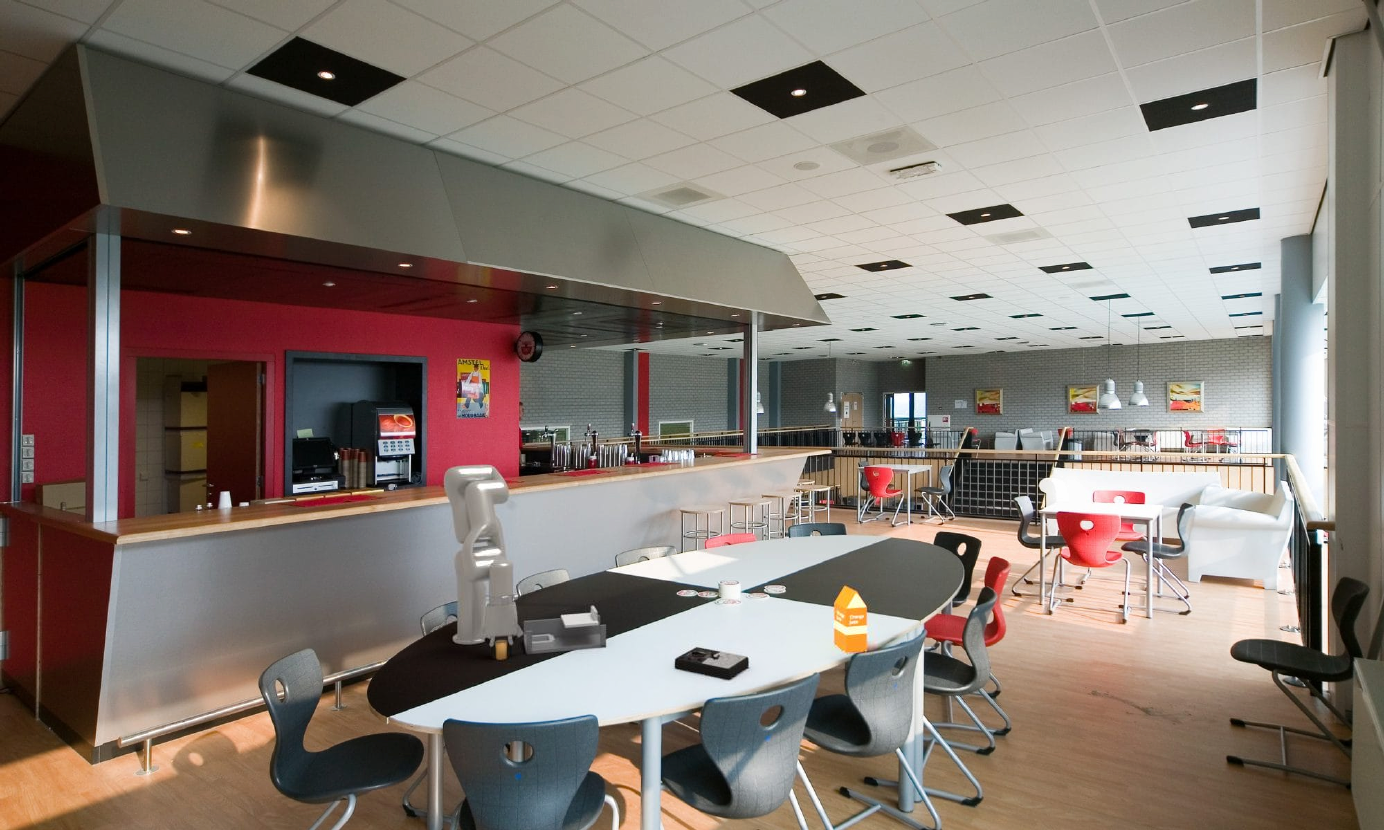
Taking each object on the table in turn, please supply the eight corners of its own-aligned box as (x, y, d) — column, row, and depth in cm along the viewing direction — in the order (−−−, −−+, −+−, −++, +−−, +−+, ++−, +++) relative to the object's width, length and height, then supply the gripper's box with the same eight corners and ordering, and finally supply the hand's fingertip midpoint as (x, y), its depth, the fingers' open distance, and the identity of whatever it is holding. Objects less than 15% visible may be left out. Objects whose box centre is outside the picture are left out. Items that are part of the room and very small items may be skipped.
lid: (560, 617, 258) (560, 606, 258) (592, 614, 261) (592, 604, 261) (565, 627, 246) (565, 616, 246) (598, 624, 249) (598, 613, 249)
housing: (523, 642, 255) (523, 621, 255) (599, 635, 262) (599, 615, 262) (526, 654, 242) (526, 631, 242) (606, 646, 250) (606, 625, 250)
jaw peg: (494, 655, 241) (494, 640, 241) (507, 654, 242) (507, 639, 242) (494, 659, 237) (494, 644, 237) (507, 658, 238) (507, 643, 238)
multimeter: (695, 657, 241) (695, 642, 241) (749, 668, 231) (749, 652, 231) (674, 669, 229) (674, 653, 229) (729, 681, 220) (729, 664, 220)
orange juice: (845, 653, 244) (845, 592, 244) (833, 645, 252) (833, 585, 252) (867, 651, 246) (867, 590, 246) (854, 643, 254) (854, 584, 254)
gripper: (526, 595, 245) (527, 650, 246) (473, 598, 241) (474, 655, 241) (528, 600, 238) (528, 658, 238) (473, 604, 233) (474, 663, 234)
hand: (501, 656), depth 240 cm, fingers closed on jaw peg, 4 cm apart
